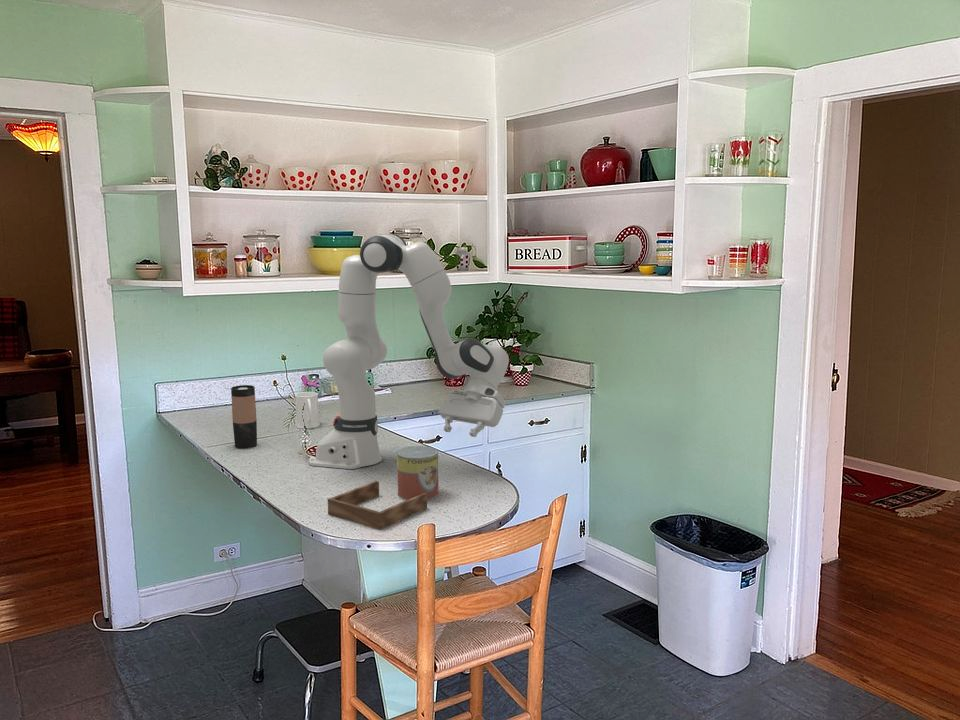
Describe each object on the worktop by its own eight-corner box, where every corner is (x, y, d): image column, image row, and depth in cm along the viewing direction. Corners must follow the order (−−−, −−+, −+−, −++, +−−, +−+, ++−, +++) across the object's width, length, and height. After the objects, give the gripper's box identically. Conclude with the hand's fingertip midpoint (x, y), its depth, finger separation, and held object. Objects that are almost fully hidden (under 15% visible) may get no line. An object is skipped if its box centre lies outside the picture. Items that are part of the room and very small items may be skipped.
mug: (321, 430, 288) (320, 397, 286) (297, 432, 286) (295, 399, 284) (318, 422, 299) (317, 390, 297) (295, 424, 297) (293, 392, 295)
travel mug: (262, 443, 271) (259, 385, 268) (250, 449, 264) (246, 390, 260) (242, 442, 273) (238, 384, 270) (229, 448, 266) (226, 389, 262)
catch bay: (376, 494, 220) (376, 480, 219) (427, 508, 210) (426, 493, 209) (328, 514, 206) (327, 499, 205) (379, 529, 195) (379, 513, 195)
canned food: (414, 504, 213) (413, 460, 211) (389, 493, 221) (388, 451, 219) (447, 494, 220) (446, 452, 218) (421, 484, 228) (420, 443, 226)
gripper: (446, 384, 243) (426, 422, 237) (502, 392, 231) (482, 432, 225) (455, 396, 247) (436, 433, 241) (510, 404, 236) (492, 444, 229)
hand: (459, 433), depth 233 cm, fingers open, 8 cm apart
